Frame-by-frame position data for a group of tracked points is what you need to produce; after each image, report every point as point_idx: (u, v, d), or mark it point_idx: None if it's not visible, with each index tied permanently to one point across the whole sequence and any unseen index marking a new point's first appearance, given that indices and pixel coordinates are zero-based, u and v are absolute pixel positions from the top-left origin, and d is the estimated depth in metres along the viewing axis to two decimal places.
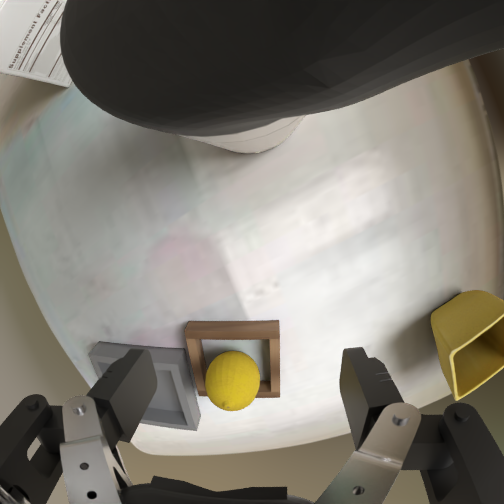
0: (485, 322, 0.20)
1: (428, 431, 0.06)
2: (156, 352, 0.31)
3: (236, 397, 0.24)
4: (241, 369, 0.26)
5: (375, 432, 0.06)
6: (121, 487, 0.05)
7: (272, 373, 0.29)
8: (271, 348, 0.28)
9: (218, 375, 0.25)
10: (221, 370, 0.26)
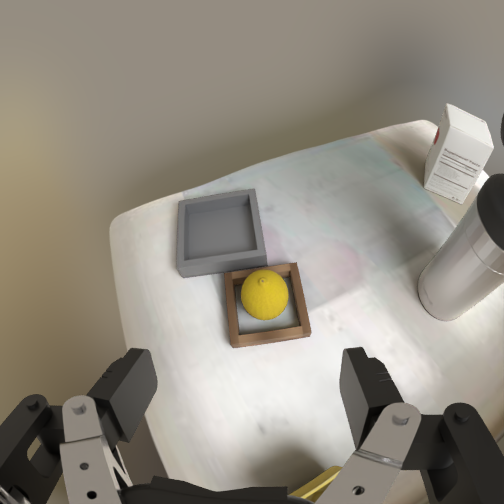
0: None
1: (428, 431, 0.06)
2: None
3: (271, 289, 0.31)
4: (286, 298, 0.32)
5: (375, 432, 0.06)
6: (121, 487, 0.05)
7: (262, 333, 0.33)
8: (292, 328, 0.33)
9: (282, 278, 0.33)
10: (284, 282, 0.33)
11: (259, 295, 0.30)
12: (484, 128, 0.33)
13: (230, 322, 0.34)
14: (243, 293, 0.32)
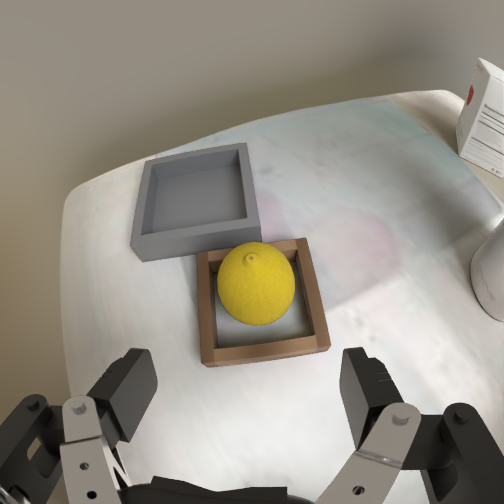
0: None
1: (428, 431, 0.06)
2: None
3: (266, 272, 0.18)
4: (292, 289, 0.19)
5: (375, 432, 0.06)
6: (121, 487, 0.05)
7: (253, 347, 0.20)
8: (300, 339, 0.20)
9: None
10: (289, 263, 0.20)
11: (245, 283, 0.18)
12: None
13: (202, 328, 0.22)
14: (219, 280, 0.19)
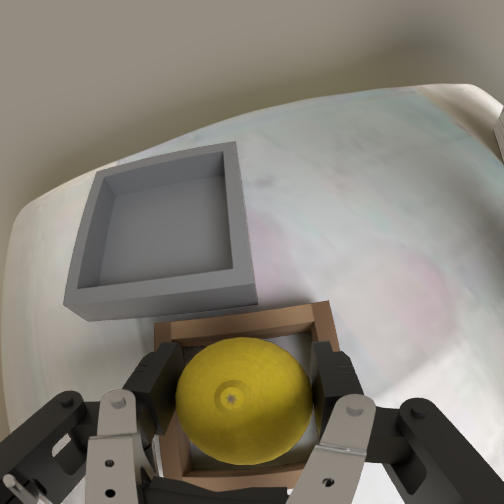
0: None
1: (384, 424, 0.06)
2: (250, 250, 0.18)
3: (263, 421, 0.08)
4: (308, 421, 0.09)
5: (332, 425, 0.06)
6: None
7: (241, 480, 0.10)
8: None
9: (299, 367, 0.10)
10: (305, 375, 0.10)
11: (221, 437, 0.08)
12: None
13: (164, 445, 0.12)
14: (177, 411, 0.09)
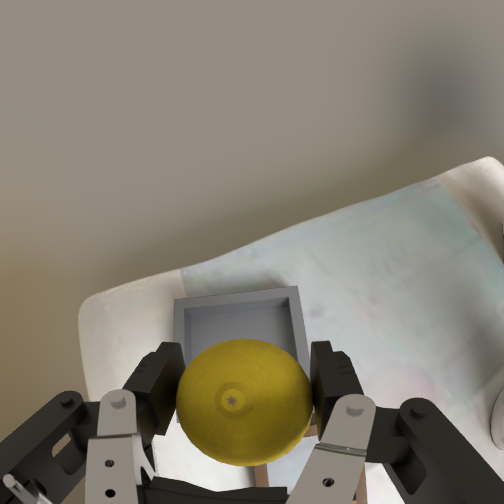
0: None
1: (384, 424, 0.06)
2: None
3: (264, 422, 0.08)
4: (309, 422, 0.09)
5: (332, 425, 0.06)
6: None
7: None
8: None
9: (299, 368, 0.10)
10: (306, 376, 0.10)
11: (222, 439, 0.07)
12: None
13: None
14: (178, 412, 0.09)
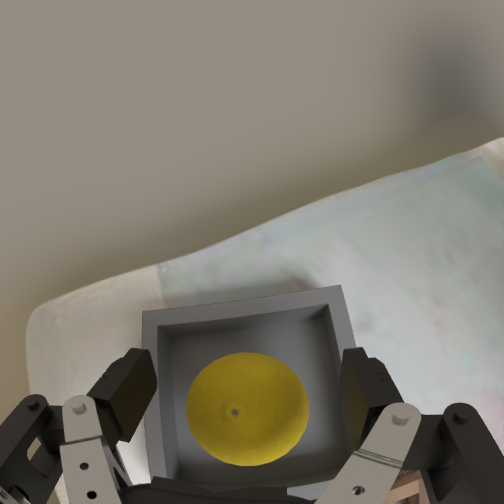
0: None
1: (428, 431, 0.06)
2: None
3: (263, 430, 0.09)
4: (304, 427, 0.10)
5: (375, 432, 0.06)
6: (121, 487, 0.05)
7: None
8: None
9: (295, 380, 0.11)
10: (302, 386, 0.11)
11: (227, 444, 0.09)
12: None
13: None
14: (187, 420, 0.10)
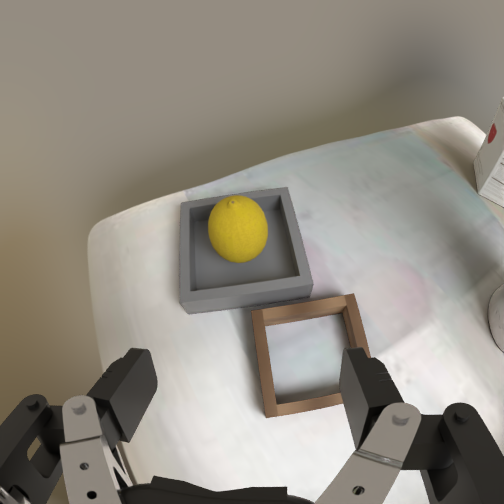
0: None
1: (428, 431, 0.06)
2: None
3: (244, 212, 0.24)
4: (264, 230, 0.26)
5: (375, 432, 0.06)
6: (121, 487, 0.05)
7: (312, 400, 0.21)
8: None
9: (259, 206, 0.26)
10: (262, 211, 0.26)
11: (228, 220, 0.24)
12: None
13: (264, 385, 0.22)
14: (209, 222, 0.25)
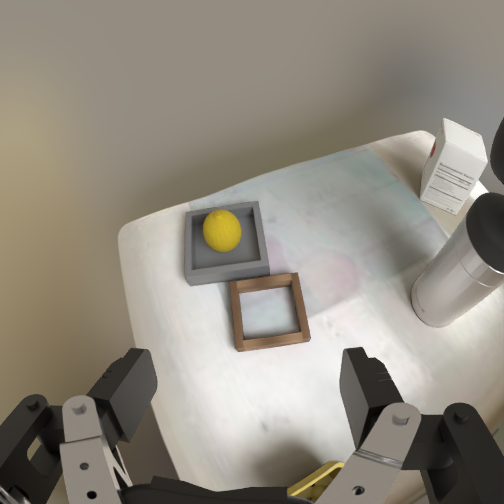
0: None
1: (428, 431, 0.06)
2: None
3: (224, 221, 0.39)
4: (238, 231, 0.41)
5: (375, 432, 0.06)
6: (121, 487, 0.05)
7: (266, 338, 0.36)
8: (293, 334, 0.36)
9: (235, 216, 0.41)
10: (237, 219, 0.41)
11: (214, 225, 0.39)
12: (479, 142, 0.36)
13: (235, 328, 0.37)
14: (203, 226, 0.40)
